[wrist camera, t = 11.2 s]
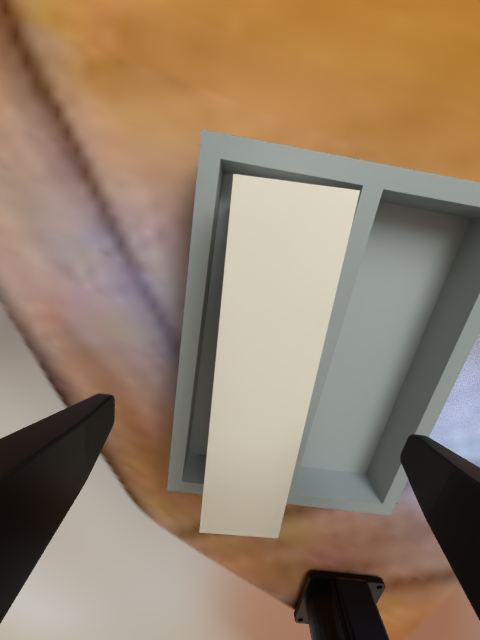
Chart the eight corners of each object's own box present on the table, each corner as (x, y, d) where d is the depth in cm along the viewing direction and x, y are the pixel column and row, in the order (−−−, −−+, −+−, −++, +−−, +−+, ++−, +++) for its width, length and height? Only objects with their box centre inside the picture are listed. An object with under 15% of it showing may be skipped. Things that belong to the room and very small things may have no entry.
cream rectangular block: (266, 448, 16) (278, 538, 11) (211, 443, 16) (199, 532, 11) (310, 211, 12) (360, 190, 7) (235, 201, 11) (233, 173, 7)
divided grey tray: (366, 471, 18) (390, 515, 15) (178, 448, 17) (166, 490, 14) (474, 205, 12) (545, 195, 10) (210, 156, 12) (201, 129, 9)
